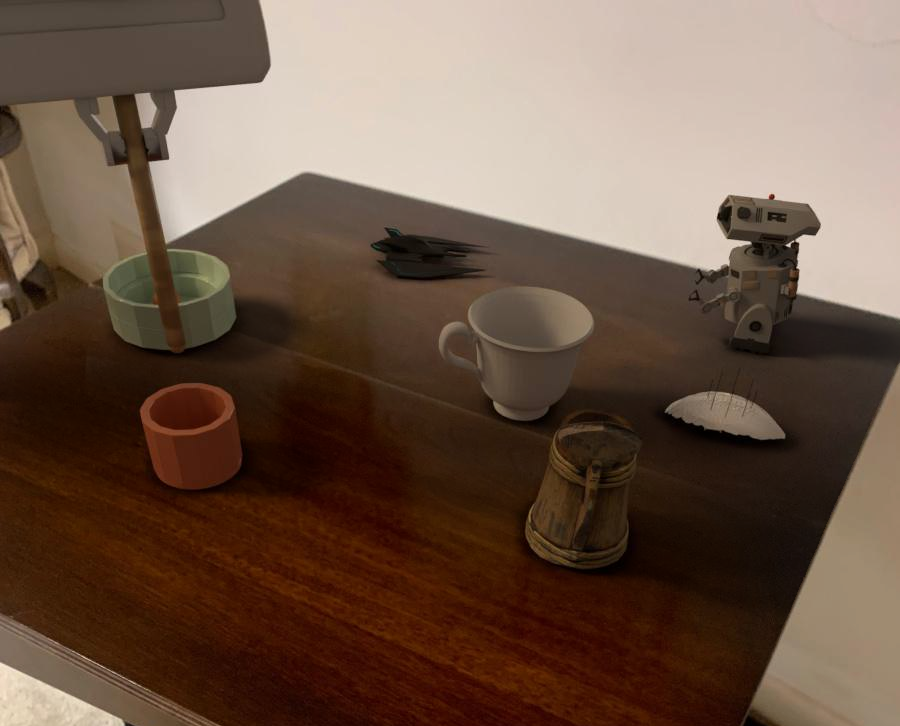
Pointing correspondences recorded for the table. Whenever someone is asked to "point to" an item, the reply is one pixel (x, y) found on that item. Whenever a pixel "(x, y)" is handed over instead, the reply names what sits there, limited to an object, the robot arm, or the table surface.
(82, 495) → the table surface
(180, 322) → the stirring stick
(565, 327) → the teacup
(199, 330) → the bowl
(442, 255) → the black starfighter
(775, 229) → the figurine
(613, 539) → the wooden mug
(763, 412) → the pincushion
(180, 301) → the bead
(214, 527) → the table surface
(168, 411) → the holder
